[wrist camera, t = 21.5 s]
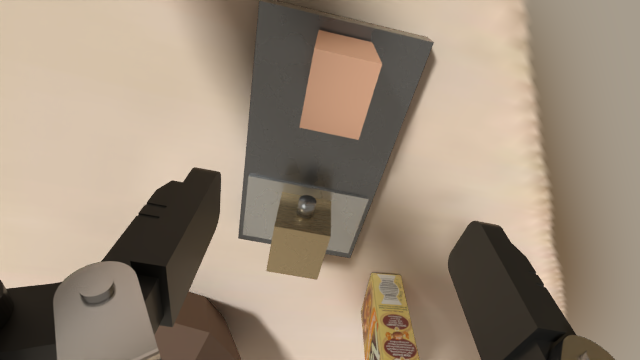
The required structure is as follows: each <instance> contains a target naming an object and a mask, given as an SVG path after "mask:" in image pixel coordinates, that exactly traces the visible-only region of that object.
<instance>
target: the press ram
mask: <svg viewBox="0 0 640 360" xmlns="http://www.w3.org/2000/svg"><path fill="white" fill-rule="evenodd" d="M381 67H382V62H381V60H380V58H379V56H378V54H377V52H376V49H375V47H374V45H373V43H372V42H369V41H364V40H360V39H356V38H352V37H347V36H343V35H339V34H335V33H330V32H326V31H322V30H319V31H318V35H317V39H316V43H315V48H314V53H313V58H312V63H311V68H310V74H309V79H308V84H307V90H306V95H305V100H304V105H303V111H302V116H301V121H300V127H299V128H304V129H309V130H314V131H318V132H323V133H328V134H333V135H337V136H342V137H347V138H352V139H357V140H359V137H360V134H361V131H362V127H363V124H364V121H365V118H366V115H367V111H368V108H369V105H370V102H371V99H372V95H373V92H374V89H375V86H376V83H377V79H378V76H379V73H380V70H381Z"/></svg>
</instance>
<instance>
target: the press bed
mask: <svg viewBox="0 0 640 360" xmlns="http://www.w3.org/2000/svg"><path fill="white" fill-rule="evenodd" d="M319 30H322V31H326V32H330V33H335V34H339V35H343V36H347V37H352V38H356V39H360V40H364V41H369V42H372V43H373V45H374V47H375V49H376V52H377V54H378V56H379V58H380V60H381V62H382V67H381V70H380V73H379V76H378V79H377V83H376V86H375V89H374V92H373V95H372V99H371V102H370V105H369V108H368V111H367V115H366V118H365V121H364V124H363V127H362V131H361V134H360V137H359V140H357V139H352V138H347V137H342V136H337V135H333V134H328V133H323V132H318V131H314V130H309V129H304V128H299V127H300V121H301V116H302V111H303V105H304V100H305V95H306V90H307V84H308V79H309V74H310V68H311V63H312V58H313V53H314V48H315V43H316V39H317V35H318V31H319ZM433 43H434V42H433V41H431V40H430V39H429V38H428V37H424V36H420V35H416V34H412V33H408V32H404V31H400V30H395V29H391V28H387V27H383V26H379V25H375V24H371V23H366V22H362V21H358V20H354V19H350V18H346V17H342V16H337V15H333V14H329V13H325V12H321V11H317V10H313V9H309V8H304V7H300V6H296V5H292V4H288V3H284V2H280V1H275V0H259V10H258V21H257V33H256V44H255V55H254V67H253V78H252V89H251V101H250V112H249V123H248V135H247V146H246V157H245V169H244V180H243V191H242V203H241V214H240V225H239V236H238V238H239V239H245V240H251V241H256V242H262V243H268V244H271V242H272V236H273V231H274V225H275V221H276V217H277V212H278V208H279V204H280V199H281V195H282V192H286V193H291V194H296V195H301V196H303V195H310V196H312V197H314V198H317V199H322V200H328V201H331V237H330V240H329V244H328V247H327V250H326V253H325V254H330V255H336V256H341V257H347V258H350V257H351V254H352V252H353V249H354V247H355V244H356V241H357V239H358V236H359V234H360V231H361V229H362V226H363V223H364V221H365V218H366V216H367V213H368V211H369V208H370V205H371V203H372V200H373V198H374V195H375V192H376V190H377V187H378V185H379V182H380V180H381V177H382V174H383V172H384V169H385V167H386V164H387V162H388V159H389V156H390V154H391V151H392V149H393V146H394V144H395V141H396V138H397V136H398V133H399V131H400V128H401V126H402V123H403V120H404V118H405V115H406V113H407V110H408V107H409V105H410V102H411V100H412V97H413V95H414V92H415V89H416V87H417V84H418V82H419V79H420V77H421V74H422V71H423V69H424V66H425V64H426V61H427V59H428V56H429V53H430V51H431V48H432V46H433Z"/></svg>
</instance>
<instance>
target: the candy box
mask: <svg viewBox="0 0 640 360" xmlns="http://www.w3.org/2000/svg"><path fill="white" fill-rule="evenodd" d="M361 317H362V328H363V340H364V352H365V360H419V355H418V351H417V346H416V342H415V338H414V333H413V329H412V324H411V320H410V315H409V311H408V306H407V302H406V297H405V293H404V288H403V284H402V279H401V275H393V274H380V273H371V276H370V280H369V283H368V287H367V290H366V294H365V298H364V302H363V306H362V310H361Z"/></svg>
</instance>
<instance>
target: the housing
mask: <svg viewBox="0 0 640 360" xmlns="http://www.w3.org/2000/svg"><path fill="white" fill-rule="evenodd" d="M330 237H331V201H328V200H322V199H317V198H314V197H312V196H310V195H303V196H301V195H296V194H291V193H286V192H282V195H281V199H280V204H279V208H278V212H277V217H276V221H275V225H274V231H273V236H272V242H271V248H270V254H269V259H268V265H267V271H269V272H275V273H281V274H287V275H293V276H299V277H305V278H311V279H317V278H318V275H319V272H320V269H321V265H322V262H323V259H324V256H325V253H326V250H327V247H328V244H329V240H330Z"/></svg>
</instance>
